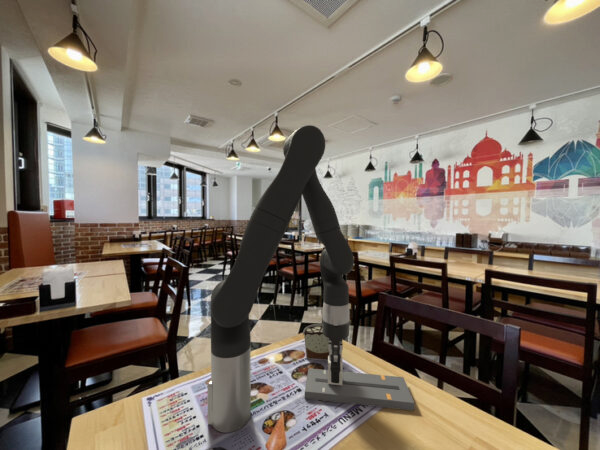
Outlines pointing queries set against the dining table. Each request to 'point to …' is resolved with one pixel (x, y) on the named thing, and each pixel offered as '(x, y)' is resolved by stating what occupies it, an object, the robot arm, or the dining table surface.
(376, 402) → the fader board
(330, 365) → the slider handle
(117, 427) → the dining table surface
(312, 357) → the food container
